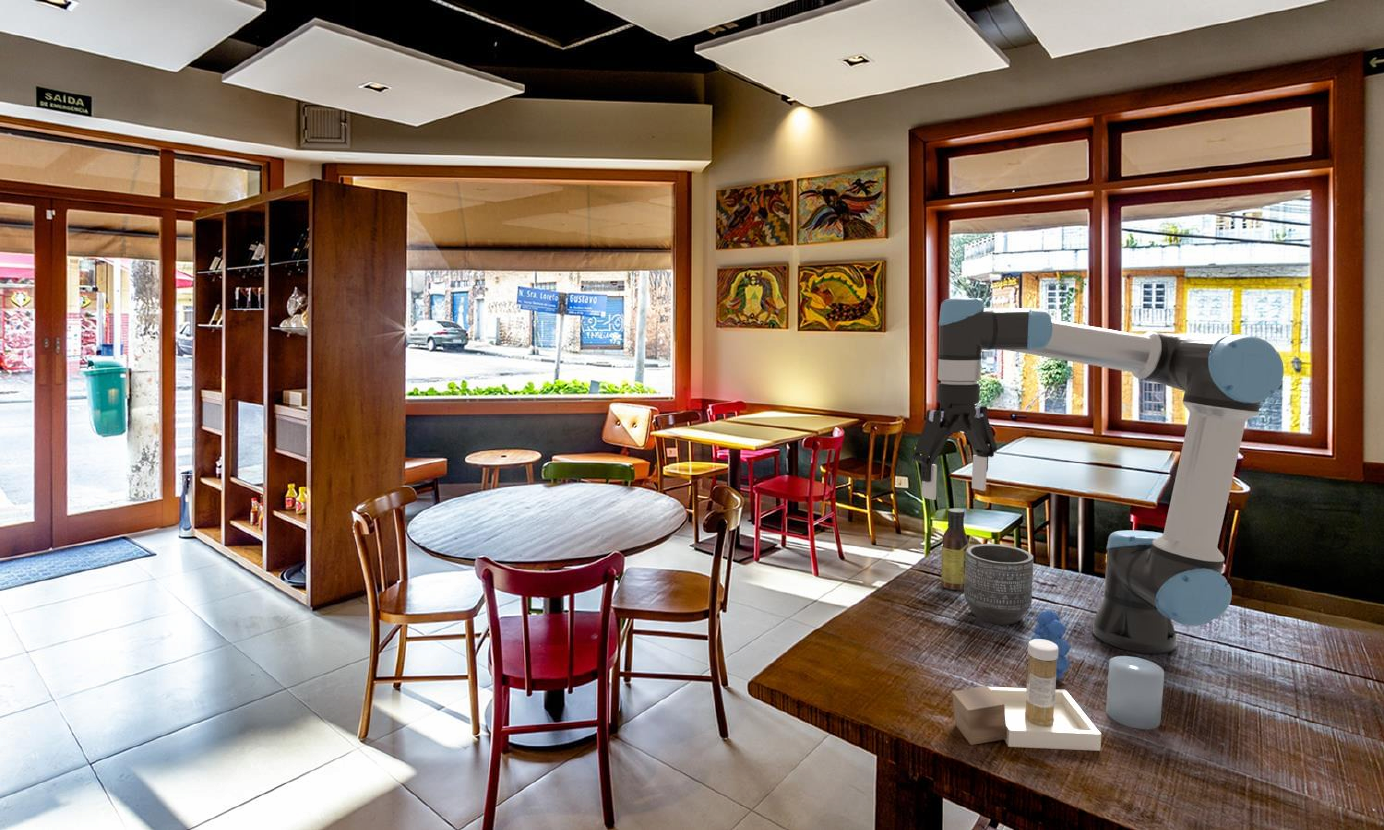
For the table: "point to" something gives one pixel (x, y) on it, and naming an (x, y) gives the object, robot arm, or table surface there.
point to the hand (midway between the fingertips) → (954, 493)
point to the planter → (998, 582)
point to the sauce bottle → (954, 551)
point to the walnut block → (979, 715)
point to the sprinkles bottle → (1041, 681)
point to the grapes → (1053, 638)
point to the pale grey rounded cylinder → (1135, 692)
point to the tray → (1061, 734)
